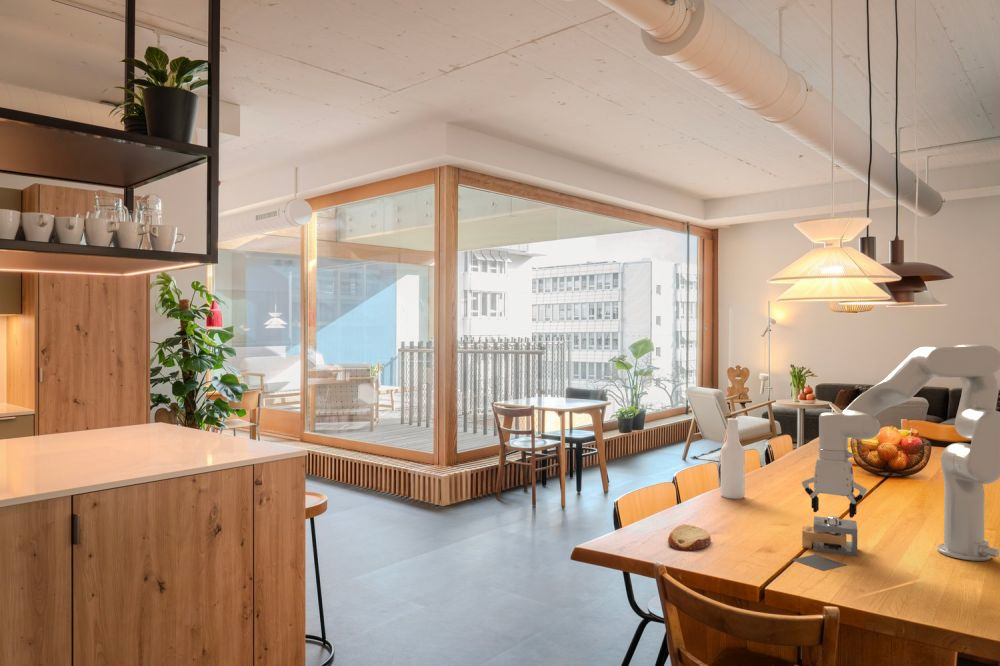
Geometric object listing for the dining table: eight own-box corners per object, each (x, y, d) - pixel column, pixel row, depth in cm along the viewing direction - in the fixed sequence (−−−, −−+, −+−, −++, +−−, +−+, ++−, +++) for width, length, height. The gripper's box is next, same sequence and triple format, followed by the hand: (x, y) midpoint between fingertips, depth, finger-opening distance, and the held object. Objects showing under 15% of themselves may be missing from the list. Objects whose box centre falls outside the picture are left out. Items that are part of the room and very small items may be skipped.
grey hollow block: (856, 548, 201) (856, 520, 201) (857, 558, 192) (857, 529, 192) (803, 541, 207) (803, 515, 207) (802, 551, 198) (802, 523, 198)
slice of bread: (692, 530, 220) (692, 518, 220) (730, 546, 203) (730, 533, 203) (645, 536, 213) (645, 524, 213) (681, 553, 196) (681, 540, 196)
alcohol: (741, 494, 267) (741, 417, 267) (747, 499, 258) (747, 420, 258) (718, 493, 268) (718, 417, 268) (723, 499, 259) (723, 419, 259)
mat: (847, 566, 185) (847, 564, 185) (823, 572, 180) (823, 571, 180) (815, 555, 194) (815, 554, 194) (791, 561, 189) (791, 559, 189)
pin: (840, 550, 198) (841, 518, 198) (834, 552, 197) (834, 519, 197) (831, 547, 201) (831, 515, 201) (824, 549, 200) (825, 516, 200)
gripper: (869, 456, 197) (869, 516, 197) (805, 450, 207) (805, 506, 207) (863, 460, 191) (864, 521, 191) (798, 453, 201) (798, 511, 202)
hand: (833, 513), depth 199 cm, fingers open, 9 cm apart
